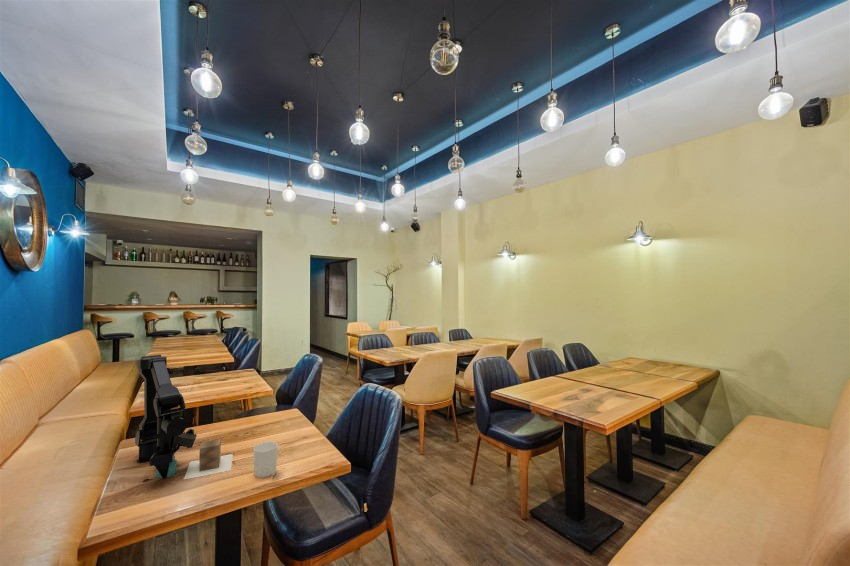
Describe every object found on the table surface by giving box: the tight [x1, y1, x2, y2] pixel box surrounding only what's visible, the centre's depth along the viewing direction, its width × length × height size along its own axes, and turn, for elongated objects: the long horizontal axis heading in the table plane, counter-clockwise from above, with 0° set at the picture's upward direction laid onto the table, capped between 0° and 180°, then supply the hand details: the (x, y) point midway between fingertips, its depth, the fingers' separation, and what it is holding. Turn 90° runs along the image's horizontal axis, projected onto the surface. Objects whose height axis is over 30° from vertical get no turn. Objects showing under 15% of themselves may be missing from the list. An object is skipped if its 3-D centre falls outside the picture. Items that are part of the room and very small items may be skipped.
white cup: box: [252, 441, 279, 478], centre depth 122 cm, size 8×8×10 cm
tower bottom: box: [199, 450, 221, 471], centre depth 127 cm, size 6×6×4 cm
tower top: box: [199, 438, 222, 460], centre depth 127 cm, size 6×6×4 cm
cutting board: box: [183, 453, 234, 481], centre depth 127 cm, size 14×14×1 cm
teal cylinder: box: [156, 458, 178, 479], centre depth 121 cm, size 6×6×5 cm
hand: (166, 473), depth 121 cm, fingers closed on teal cylinder, 5 cm apart
